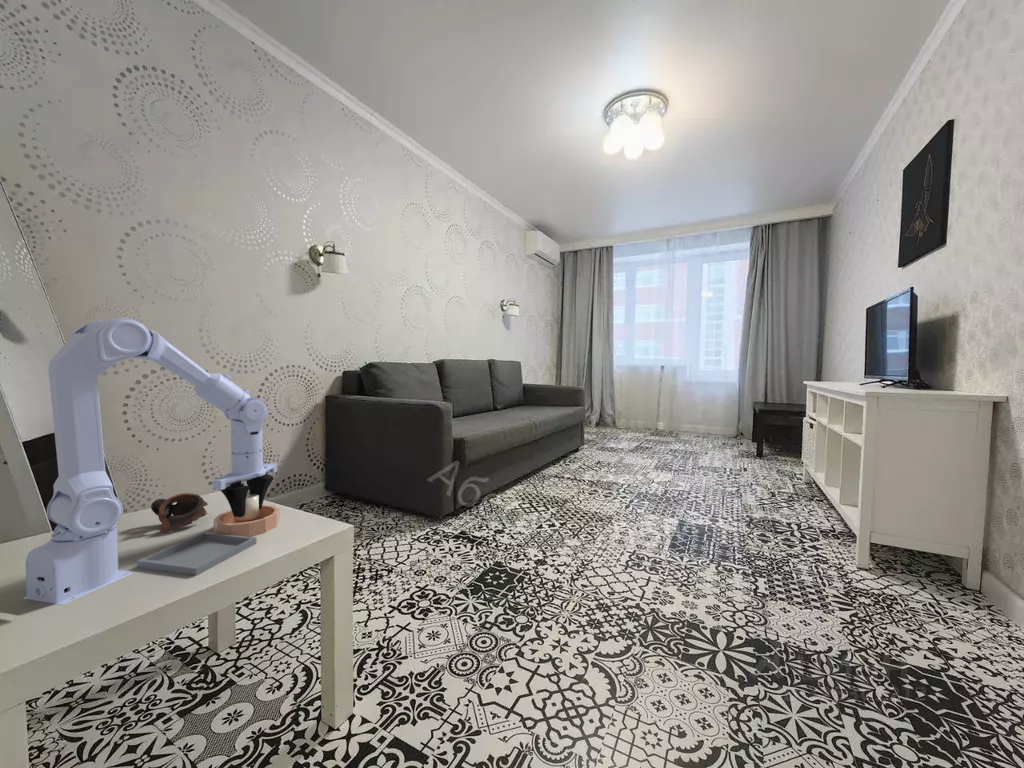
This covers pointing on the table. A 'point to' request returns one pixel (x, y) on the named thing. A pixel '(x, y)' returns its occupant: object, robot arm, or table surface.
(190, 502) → the broken clay pot
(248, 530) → the terracotta bowl
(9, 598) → the table surface
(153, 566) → the parts tray
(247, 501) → the cream rounded cylinder
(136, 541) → the table surface
